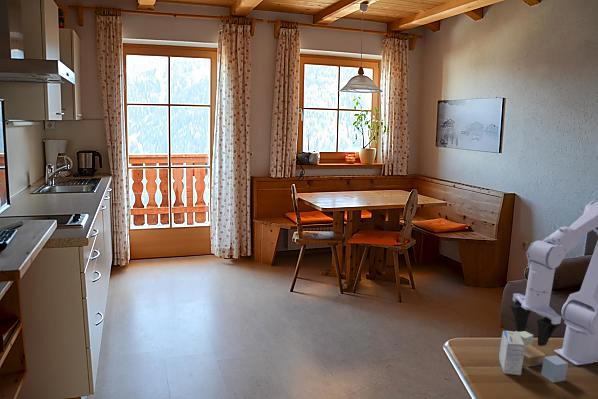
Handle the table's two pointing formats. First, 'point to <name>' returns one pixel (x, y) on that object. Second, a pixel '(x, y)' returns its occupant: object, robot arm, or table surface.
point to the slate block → (554, 368)
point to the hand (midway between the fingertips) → (530, 337)
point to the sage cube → (526, 337)
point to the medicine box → (511, 352)
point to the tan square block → (532, 356)
